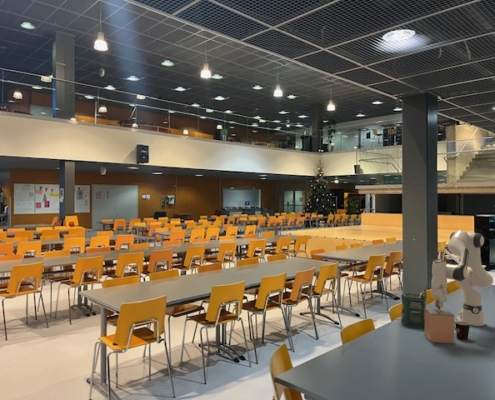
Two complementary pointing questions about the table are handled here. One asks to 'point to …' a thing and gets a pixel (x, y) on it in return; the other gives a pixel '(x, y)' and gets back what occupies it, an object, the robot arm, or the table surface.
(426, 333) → the brown block
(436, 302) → the plunger
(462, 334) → the coffee mug
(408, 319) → the donation box
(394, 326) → the table surface
